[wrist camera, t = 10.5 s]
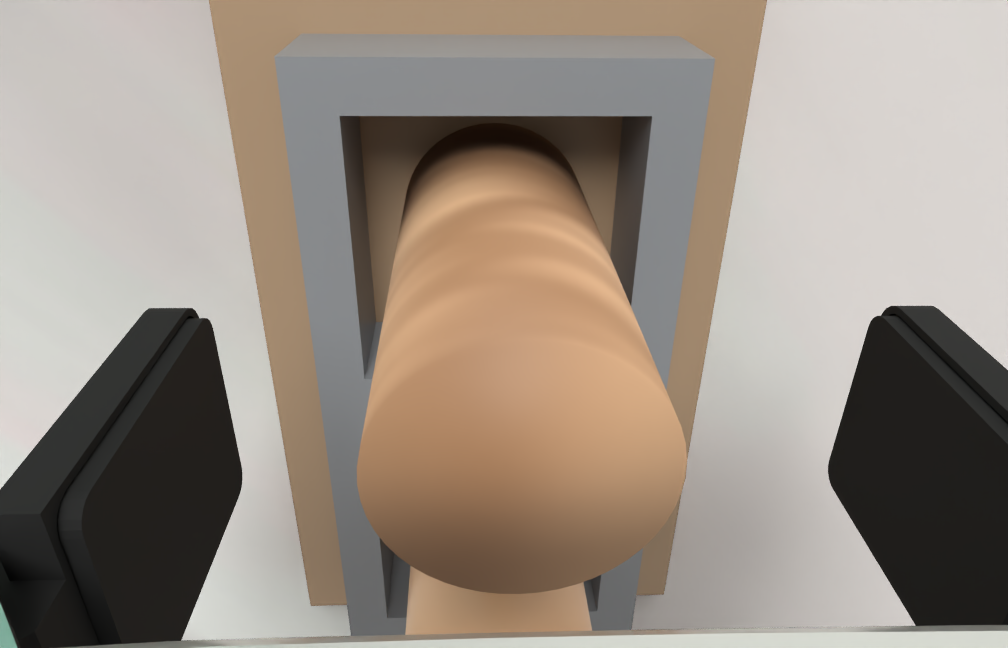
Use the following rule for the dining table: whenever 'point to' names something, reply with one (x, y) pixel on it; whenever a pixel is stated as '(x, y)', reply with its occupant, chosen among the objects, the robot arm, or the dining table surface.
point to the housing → (379, 207)
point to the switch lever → (512, 380)
